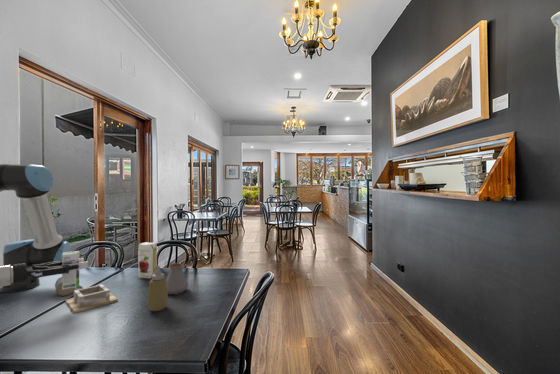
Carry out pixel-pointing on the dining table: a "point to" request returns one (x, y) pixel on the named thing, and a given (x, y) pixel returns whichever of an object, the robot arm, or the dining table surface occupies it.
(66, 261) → the syrup box
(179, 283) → the coffee pot
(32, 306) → the dining table surface
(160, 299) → the squeeze bottle
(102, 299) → the collar socket
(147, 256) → the juice carton
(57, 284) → the grey tan cylinder
